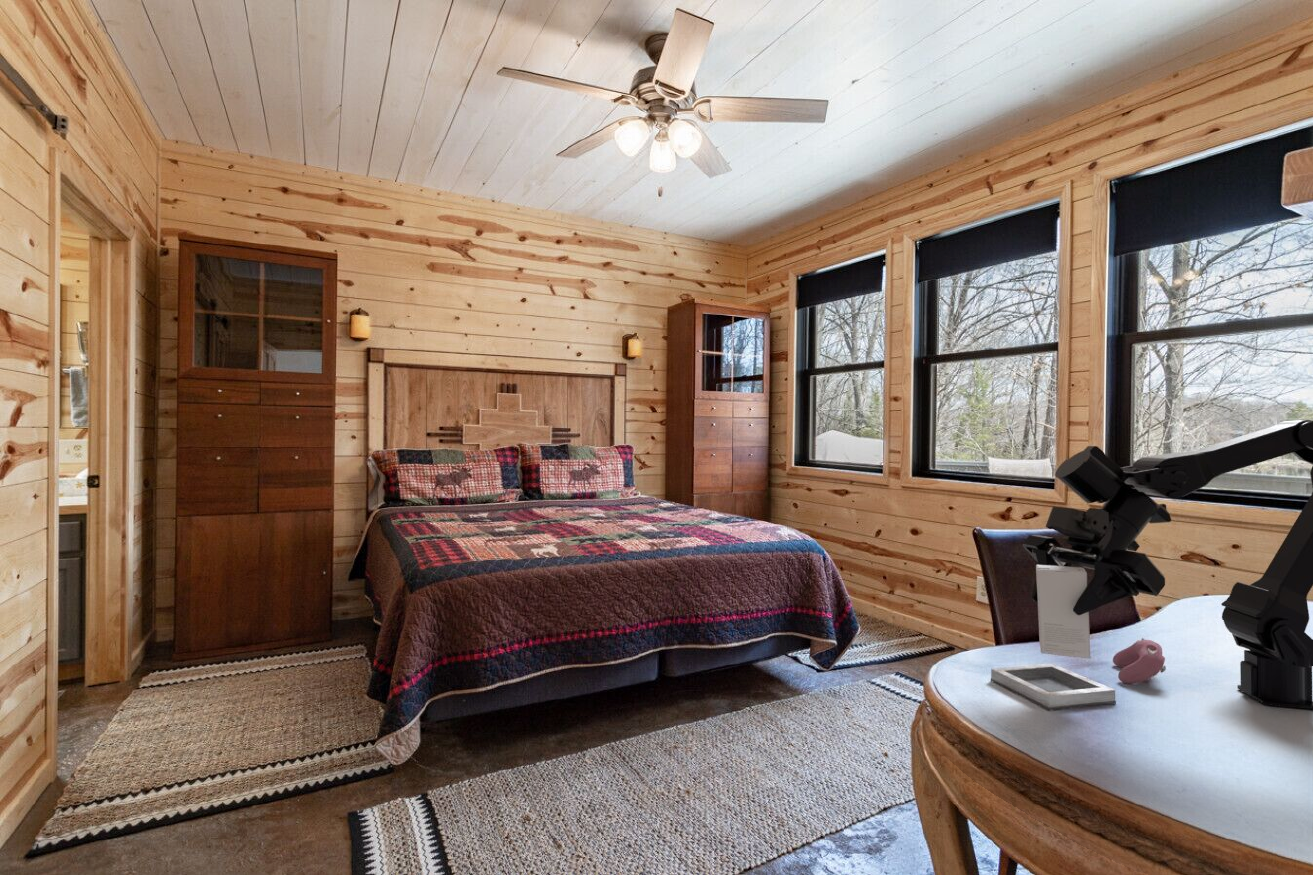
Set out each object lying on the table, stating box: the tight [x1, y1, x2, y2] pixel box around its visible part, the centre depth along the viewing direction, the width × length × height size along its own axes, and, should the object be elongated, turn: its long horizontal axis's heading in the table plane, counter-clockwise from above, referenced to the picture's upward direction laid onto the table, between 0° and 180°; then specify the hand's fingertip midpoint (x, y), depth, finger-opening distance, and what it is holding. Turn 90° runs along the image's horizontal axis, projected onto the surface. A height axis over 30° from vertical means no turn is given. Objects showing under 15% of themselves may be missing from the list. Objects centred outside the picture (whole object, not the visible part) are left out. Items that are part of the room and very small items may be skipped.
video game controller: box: [1112, 637, 1167, 685], centre depth 99 cm, size 10×5×7 cm, turn 149°
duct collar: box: [990, 663, 1117, 712], centre depth 93 cm, size 11×11×2 cm
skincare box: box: [1035, 564, 1091, 660], centre depth 90 cm, size 6×4×12 cm
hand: (1053, 606), depth 90 cm, fingers closed on skincare box, 7 cm apart
